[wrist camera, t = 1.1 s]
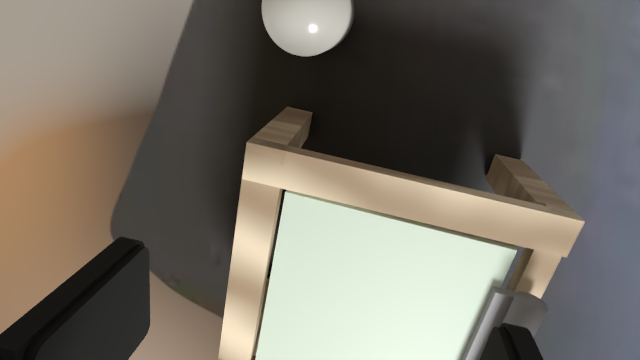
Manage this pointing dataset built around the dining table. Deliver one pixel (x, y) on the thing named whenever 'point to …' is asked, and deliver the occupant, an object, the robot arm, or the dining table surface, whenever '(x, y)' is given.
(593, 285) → the dining table surface
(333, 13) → the stone
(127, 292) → the robot arm
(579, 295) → the dining table surface
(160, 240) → the dining table surface
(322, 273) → the trapdoor
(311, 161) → the trapdoor frame
